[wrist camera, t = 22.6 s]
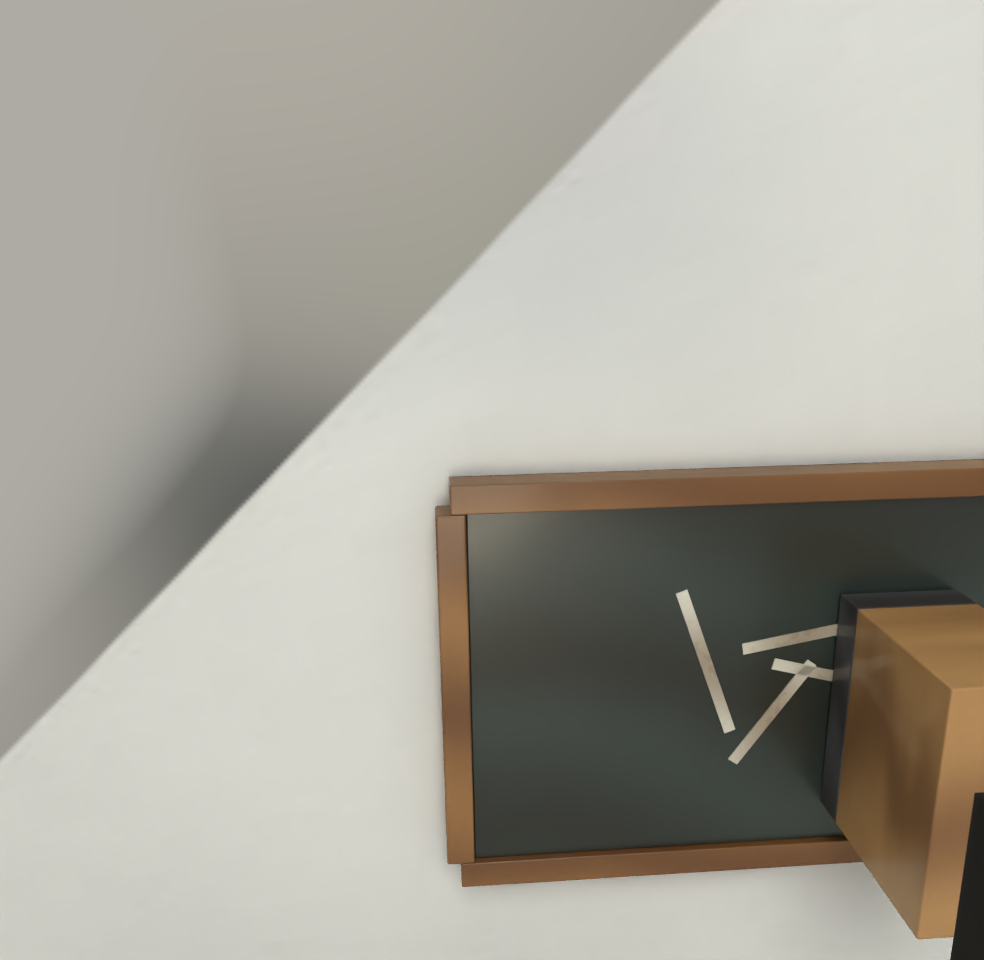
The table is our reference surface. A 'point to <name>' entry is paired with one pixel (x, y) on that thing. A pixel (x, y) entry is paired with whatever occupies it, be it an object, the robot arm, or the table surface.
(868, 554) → the slate board
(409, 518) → the table surface
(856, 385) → the table surface
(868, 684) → the eraser
